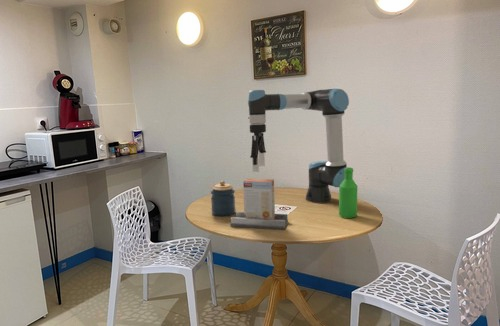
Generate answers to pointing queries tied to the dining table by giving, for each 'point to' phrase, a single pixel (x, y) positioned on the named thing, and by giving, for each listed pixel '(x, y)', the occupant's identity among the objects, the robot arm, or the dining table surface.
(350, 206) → the bottle
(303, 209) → the dining table surface
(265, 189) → the cracker box
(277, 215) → the grey long shallow tray
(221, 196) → the canister
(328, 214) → the dining table surface
